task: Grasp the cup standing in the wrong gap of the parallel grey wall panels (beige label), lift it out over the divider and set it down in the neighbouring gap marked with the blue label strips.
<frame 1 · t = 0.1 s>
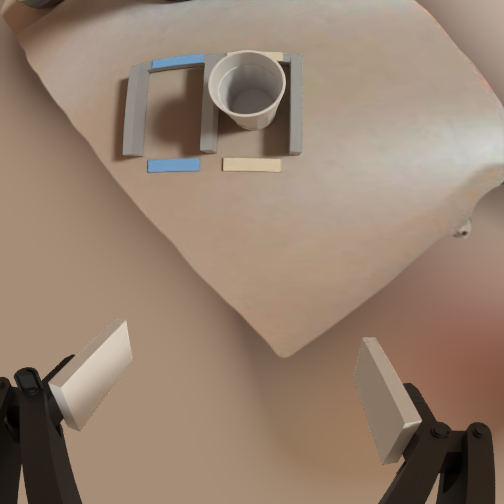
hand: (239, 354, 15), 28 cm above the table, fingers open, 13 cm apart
parallel grey wall panels: (213, 106, 38), on the table
cup: (253, 109, 38), resting in parallel grey wall panels
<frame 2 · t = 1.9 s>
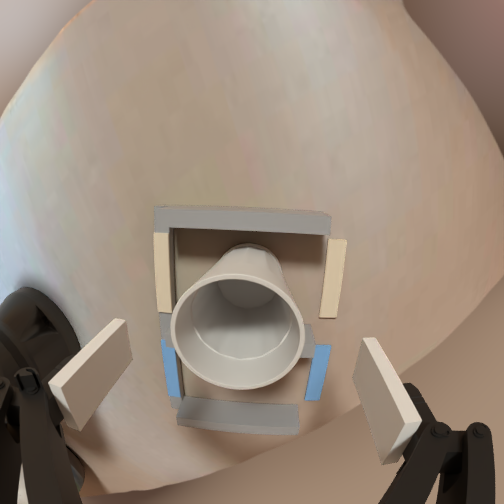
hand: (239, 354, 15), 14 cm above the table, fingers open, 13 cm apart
parallel grey wall panels: (242, 327, 29), on the table
cup: (249, 274, 28), resting in parallel grey wall panels
vase: (59, 449, 40), on the table
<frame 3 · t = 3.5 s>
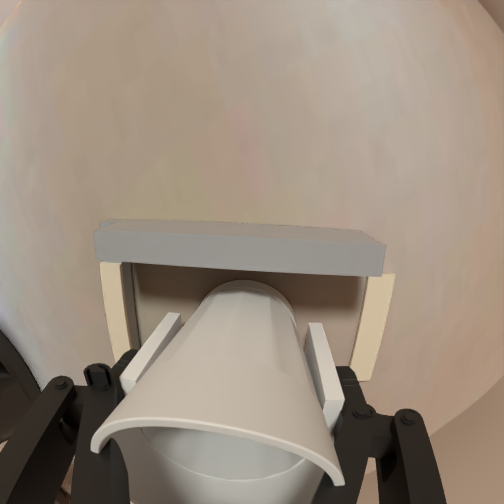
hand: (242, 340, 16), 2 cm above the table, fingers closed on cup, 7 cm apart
parallel grey wall panels: (235, 393, 19), on the table
cup: (245, 325, 18), resting in parallel grey wall panels, touching gripper
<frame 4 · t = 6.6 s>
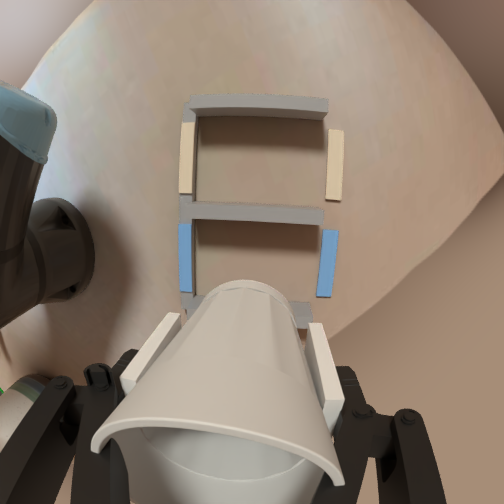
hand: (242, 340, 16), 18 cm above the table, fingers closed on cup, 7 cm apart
parallel grey wall panels: (255, 210, 32), on the table
cup: (245, 325, 18), point 16 cm above the table, touching gripper
vase: (57, 398, 44), on the table
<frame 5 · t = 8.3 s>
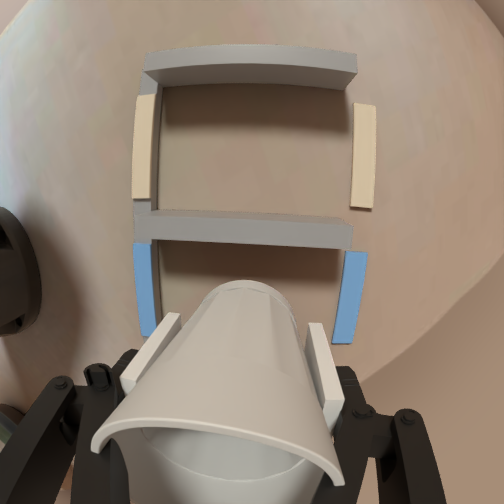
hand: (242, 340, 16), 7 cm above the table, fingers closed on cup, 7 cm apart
parallel grey wall panels: (245, 222, 22), on the table
cup: (245, 325, 18), point 5 cm above the table, touching gripper
vase: (29, 429, 33), on the table
when the fingers open (3 cm above the table, at t = 9.6 s): cup drops 1 cm, resting in parallel grey wall panels.
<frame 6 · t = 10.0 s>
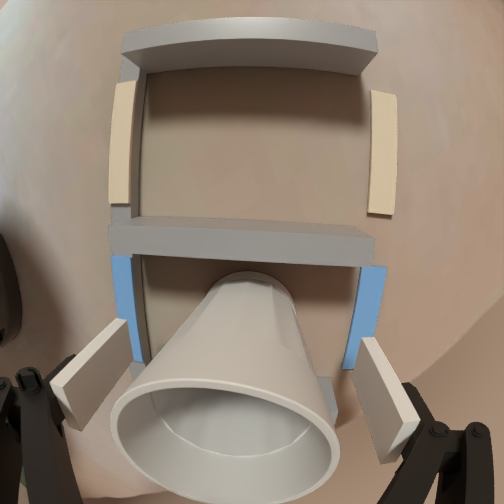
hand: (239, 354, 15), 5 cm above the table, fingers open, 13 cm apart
parallel grey wall panels: (242, 231, 18), on the table
cup: (249, 314, 19), resting in parallel grey wall panels
vase: (21, 440, 30), on the table
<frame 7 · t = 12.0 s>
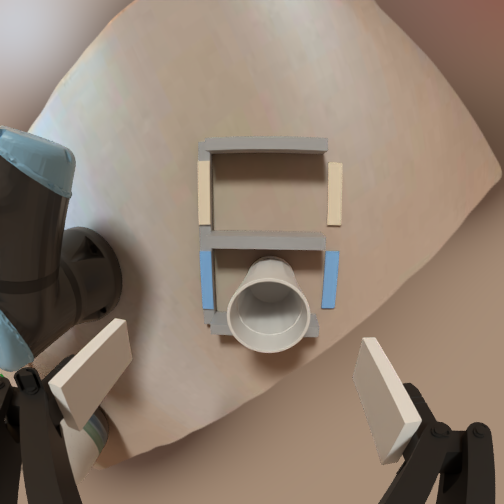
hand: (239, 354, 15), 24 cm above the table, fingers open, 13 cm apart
parallel grey wall panels: (266, 236, 37), on the table
cup: (270, 278, 39), resting in parallel grey wall panels
vase: (84, 408, 49), on the table
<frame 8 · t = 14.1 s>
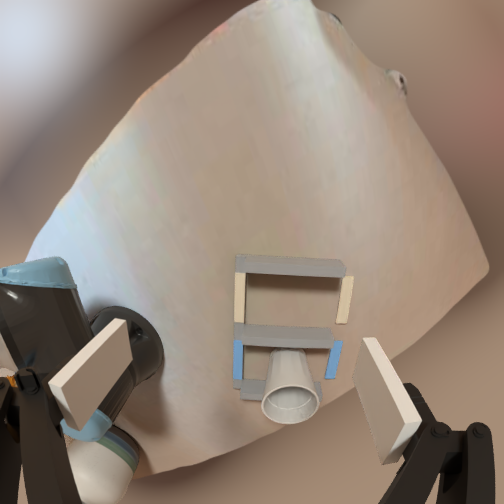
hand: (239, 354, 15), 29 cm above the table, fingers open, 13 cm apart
parallel grey wall panels: (287, 330, 46), on the table
cup: (287, 358, 47), resting in parallel grey wall panels
vase: (115, 436, 57), on the table
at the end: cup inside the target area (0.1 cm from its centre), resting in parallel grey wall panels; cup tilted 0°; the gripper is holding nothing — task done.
